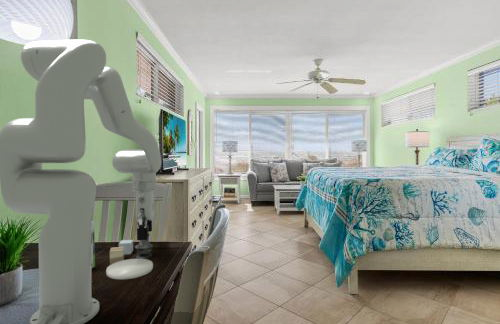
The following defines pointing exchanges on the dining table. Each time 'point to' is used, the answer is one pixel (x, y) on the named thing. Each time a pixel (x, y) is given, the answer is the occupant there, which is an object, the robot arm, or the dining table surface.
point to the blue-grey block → (127, 246)
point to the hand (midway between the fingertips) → (144, 235)
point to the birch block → (116, 254)
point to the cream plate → (129, 269)
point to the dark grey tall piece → (144, 248)
